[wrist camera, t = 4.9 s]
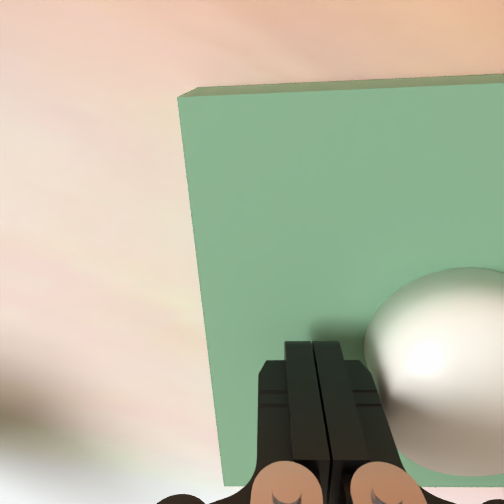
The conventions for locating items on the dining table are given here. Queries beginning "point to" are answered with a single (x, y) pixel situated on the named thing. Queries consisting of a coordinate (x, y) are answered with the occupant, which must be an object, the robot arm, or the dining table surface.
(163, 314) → the dining table surface
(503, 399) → the white egg-shaped lump
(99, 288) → the dining table surface
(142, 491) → the dining table surface
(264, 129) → the putting mat
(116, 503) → the dining table surface
